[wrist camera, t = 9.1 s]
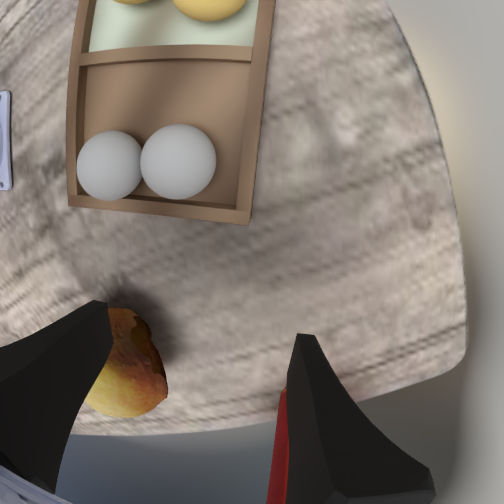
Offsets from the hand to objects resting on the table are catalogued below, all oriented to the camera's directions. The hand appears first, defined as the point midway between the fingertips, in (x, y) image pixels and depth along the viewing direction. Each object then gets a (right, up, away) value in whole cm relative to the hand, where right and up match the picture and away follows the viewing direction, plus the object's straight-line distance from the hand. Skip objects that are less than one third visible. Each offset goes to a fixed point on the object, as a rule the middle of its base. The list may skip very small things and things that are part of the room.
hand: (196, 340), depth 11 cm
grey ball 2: (-1, +8, +6) cm, 11 cm away
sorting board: (-3, +14, +5) cm, 15 cm away
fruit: (-7, -3, +13) cm, 15 cm away
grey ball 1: (-6, +9, +7) cm, 13 cm away
